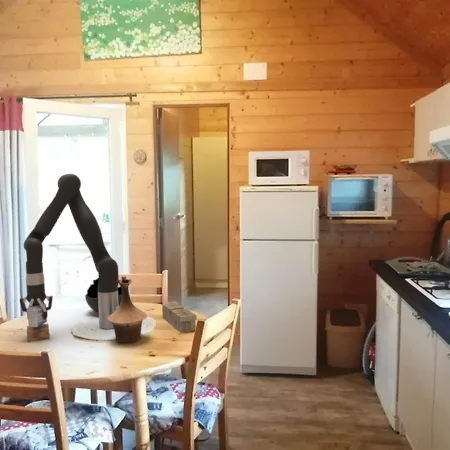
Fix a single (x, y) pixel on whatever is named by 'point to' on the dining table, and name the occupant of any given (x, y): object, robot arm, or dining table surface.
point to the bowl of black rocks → (93, 295)
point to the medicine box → (36, 316)
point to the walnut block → (38, 333)
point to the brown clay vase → (127, 317)
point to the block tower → (178, 317)
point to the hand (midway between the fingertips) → (37, 319)
